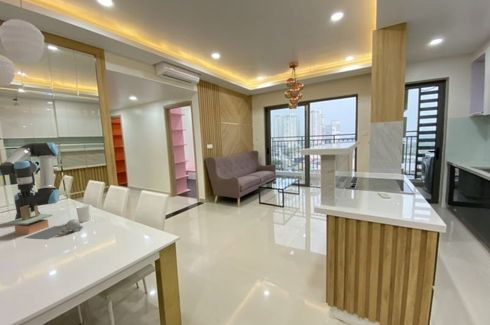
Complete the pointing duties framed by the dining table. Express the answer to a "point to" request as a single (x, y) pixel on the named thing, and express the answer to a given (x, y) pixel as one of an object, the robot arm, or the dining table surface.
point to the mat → (47, 233)
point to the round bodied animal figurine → (71, 227)
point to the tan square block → (31, 227)
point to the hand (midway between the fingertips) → (30, 215)
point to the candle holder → (84, 212)
